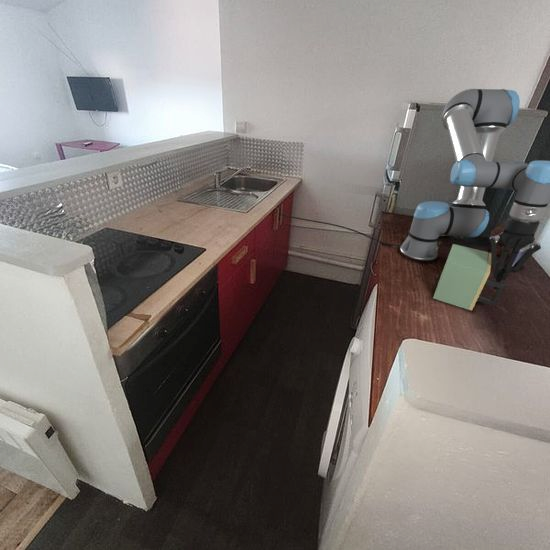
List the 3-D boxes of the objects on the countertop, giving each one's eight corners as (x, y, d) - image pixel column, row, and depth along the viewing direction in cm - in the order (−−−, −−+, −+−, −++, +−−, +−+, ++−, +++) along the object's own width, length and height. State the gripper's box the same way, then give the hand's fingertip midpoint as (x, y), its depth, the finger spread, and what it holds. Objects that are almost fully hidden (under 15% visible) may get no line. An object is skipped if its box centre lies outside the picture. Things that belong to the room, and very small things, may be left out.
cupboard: (471, 287, 109) (488, 252, 101) (468, 309, 98) (486, 271, 90) (439, 278, 114) (453, 243, 106) (432, 298, 103) (447, 261, 95)
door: (492, 293, 106) (510, 257, 98) (490, 316, 95) (510, 278, 87) (472, 287, 109) (489, 252, 101) (468, 309, 98) (486, 272, 90)
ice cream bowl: (478, 247, 139) (491, 217, 131) (499, 247, 140) (514, 217, 132) (494, 258, 130) (509, 226, 122) (517, 257, 131) (533, 226, 123)
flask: (511, 271, 120) (523, 248, 115) (504, 268, 122) (515, 245, 117) (522, 266, 124) (534, 243, 119) (514, 263, 127) (526, 240, 121)
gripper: (498, 218, 85) (472, 287, 97) (554, 226, 79) (519, 298, 91) (498, 211, 91) (473, 277, 102) (550, 218, 84) (518, 287, 96)
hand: (495, 287), depth 96 cm, fingers closed
